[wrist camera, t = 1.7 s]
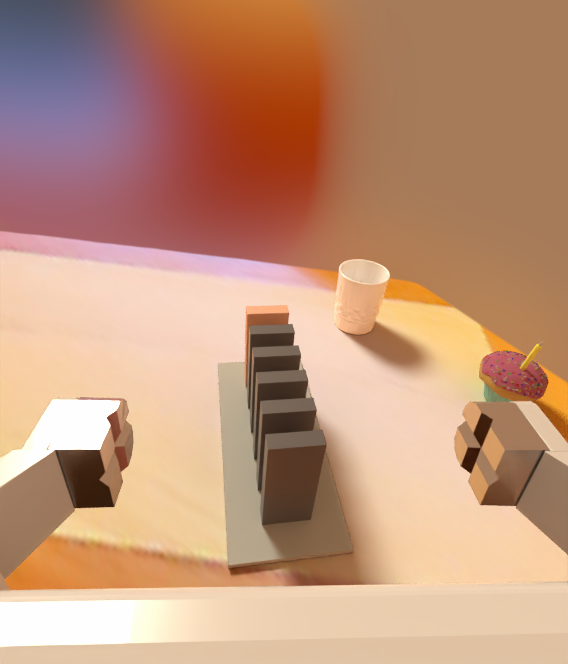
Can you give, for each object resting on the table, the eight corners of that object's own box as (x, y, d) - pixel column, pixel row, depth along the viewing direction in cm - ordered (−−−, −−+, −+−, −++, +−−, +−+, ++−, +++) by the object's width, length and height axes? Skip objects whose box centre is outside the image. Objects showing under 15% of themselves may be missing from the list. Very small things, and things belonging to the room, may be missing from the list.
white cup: (385, 323, 74) (399, 271, 67) (361, 343, 68) (374, 290, 62) (346, 304, 77) (356, 254, 71) (321, 323, 72) (329, 270, 66)
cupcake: (542, 425, 57) (587, 357, 50) (478, 419, 57) (514, 349, 50) (519, 381, 64) (555, 315, 57) (462, 375, 64) (491, 308, 57)
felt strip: (228, 568, 40) (228, 565, 40) (218, 366, 62) (217, 363, 61) (352, 552, 42) (353, 549, 42) (299, 362, 64) (300, 359, 63)
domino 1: (245, 386, 58) (247, 314, 51) (244, 378, 59) (246, 306, 52) (282, 384, 59) (289, 312, 52) (280, 376, 60) (286, 305, 53)
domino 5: (257, 490, 46) (262, 413, 39) (256, 477, 47) (260, 401, 40) (303, 485, 47) (316, 410, 39) (300, 473, 48) (313, 397, 41)
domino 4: (254, 459, 49) (257, 383, 42) (252, 448, 50) (256, 372, 43) (297, 455, 50) (308, 380, 43) (294, 444, 51) (305, 369, 44)
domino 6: (261, 525, 43) (267, 449, 36) (260, 510, 44) (265, 434, 37) (310, 519, 44) (326, 444, 36) (307, 505, 45) (322, 429, 38)
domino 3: (250, 432, 52) (253, 357, 45) (249, 422, 53) (252, 347, 46) (291, 429, 53) (300, 355, 46) (289, 419, 54) (298, 345, 47)
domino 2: (248, 408, 55) (250, 334, 48) (246, 399, 56) (249, 325, 49) (286, 405, 56) (294, 332, 49) (284, 396, 57) (292, 324, 50)
